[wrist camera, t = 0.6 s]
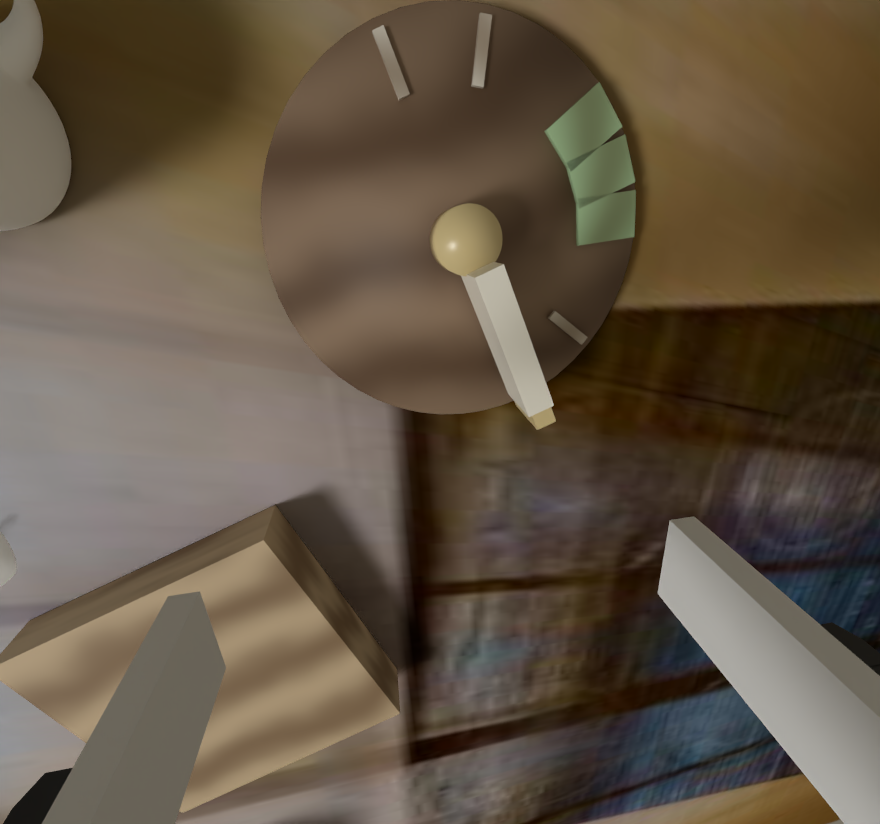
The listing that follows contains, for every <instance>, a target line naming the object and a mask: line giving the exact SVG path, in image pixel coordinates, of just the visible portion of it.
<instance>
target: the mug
mask: <svg viewBox="0 0 880 824" xmlns="http://www.w3.org/2000/svg"><path fill="white" fill-rule="evenodd" d="M42 47H43V28H42V22H41V17H40V14H39V11H38V8H37V6H36V3H35V1H34V0H14V4H13V7H12V10H11V12H10V14H9V16H8V17H7V18H6V19H5V20H4V21H3V22H1V23H0V231H10V230H15V229H20V228H24V227H27V226H30V225H32V224H35V223H37V222H39V221H41V220H43V219H45V218H46V217H47V216H48V215H50V214H51V213H52V212H53V211H54V210H55V209H56V208H57V207H58V205H59V204H60V202H61V201H62V199H63V198H64V196H65V193H66V191H67V188H68V185H69V181H70V176H71V152H70V147H69V142H68V138H67V135H66V132H65V129H64V126H63V124H62V122H61V120H60V118H59V116H58V113H57V112H56V110H55V108H54V107H53V105H52V103H51V101H50V100H49V98H48V97H47V96H46V94H45V93H44V91H43V90H42V89H41V87H40V86H39V85H38V84H37V83H36V81H35V80H34V79H33V78H32V77H33V74H34V72H35V70H36V67H37V65H38V62H39V60H40V56H41V52H42Z"/></svg>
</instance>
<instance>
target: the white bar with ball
mask: <svg viewBox="0 0 880 824" xmlns="http://www.w3.org/2000/svg"><path fill="white" fill-rule="evenodd" d="M502 241H503V238H502V230H501V226H500V224H499V222H498V220H497V218H496V217H495V215H494V214H493V213H492V212H491V211H490V210H488V209H487V208H485V207H483V206H481V205H478V204H473V203H468V204H462V205H458V206H455V207H452V208H449V209H447V210H445V211H444V212H443V213H441V214H440V215H439V216H438V217H437V219H436V220H435V222H434V224H433V226H432V228H431V232H430V240H429V242H430V249H431V252H432V255H433V257H434V258H435V260H436V261H437V262H438V264H439V265H441V266H442V267H443V268H445V269H446V270H448V271H450V272H453V273H455V274H457V275H460V276H461V277H462V280H463V282H464V285H465V287H466V290H467V292H468V295H469V297H470V300H471V302H472V305H473V307H474V310H475V312H476V315H477V317H478V320H479V322H480V325H481V327H482V330H483V332H484V335H485V337H486V340H487V342H488V345H489V347H490V350H491V352H492V355H493V357H494V360H495V362H496V365H497V367H498V370H499V372H500V375H501V377H502V380H503V382H504V385H505V387H506V390H507V392H508V394H509V396H510V397H511V398H512V399H513V400H514V402H515V404H516V406H517V407H518V408H519V409H520V411H521V412H522V413H523V414H524V415H525V416H526V418H527V419H528V420H529V421H530V422H531V423H532V424H533V426H534V427H535V428H536V429H537V430H538V429H540V428H543V427H545V426H547V425H549V424H551V423H553V422H555V421H556V420H555V417H554V414H553V412H552V409H551V407H552V406H554V404H553V401H552V398H551V396H550V393H549V390H548V387H547V384H546V382H545V379H544V376H543V373H542V370H541V367H540V365H539V362H538V359H537V356H536V353H535V351H534V348H533V345H532V342H531V339H530V336H529V334H528V331H527V328H526V325H525V322H524V320H523V317H522V314H521V311H520V308H519V306H518V303H517V300H516V297H515V294H514V291H513V289H512V286H511V283H510V280H509V277H508V275H507V272H506V269H505V266H504V264H501V263H497V262H496V260H497V258H498V256H499V254H500V252H501V248H502Z"/></svg>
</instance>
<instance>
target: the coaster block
mask: <svg viewBox="0 0 880 824" xmlns="http://www.w3.org/2000/svg"><path fill="white" fill-rule="evenodd" d="M199 591H200V593H201V596H202V599H203V602H204V605H205V608H206V610H207V613H208V616H209V619H210V622H211V625H212V628H213V631H214V634H215V637H216V639H217V642H218V645H219V648H220V651H221V654H222V657H223V660H224V663H225V666H226V670H225V673H224V676H223V679H222V682H221V685H220V688H219V691H218V694H217V697H216V700H215V703H214V706H213V709H212V712H211V715H210V718H209V721H208V724H207V727H206V731H205V734H204V737H203V740H202V743H201V746H200V749H199V752H198V755H197V758H196V761H195V764H194V767H193V770H192V773H191V776H190V779H189V782H188V785H187V788H186V791H185V794H184V797H183V800H182V804H181V807H180V810H179V811H180V812H181V813H183V812H186V811H188V810H190V809H192V808H194V807H196V806H199V805H201V804H203V803H205V802H207V801H210V800H212V799H214V798H216V797H218V796H221V795H223V794H225V793H227V792H229V791H231V790H234V789H236V788H238V787H240V786H242V785H245V784H247V783H249V782H251V781H253V780H256V779H258V778H260V777H262V776H264V775H267V774H269V773H271V772H273V771H275V770H277V769H280V768H282V767H284V766H286V765H288V764H291V763H293V762H295V761H297V760H299V759H302V758H304V757H306V756H308V755H310V754H312V753H315V752H317V751H319V750H321V749H323V748H326V747H328V746H330V745H332V744H334V743H337V742H339V741H341V740H343V739H345V738H348V737H350V736H352V735H354V734H356V733H358V732H361V731H363V730H365V729H367V728H369V727H372V726H374V725H376V724H378V723H380V722H383V721H385V720H387V719H389V718H391V717H393V716H396V715H398V714H400V705H399V690H398V676H397V669H396V667H395V666H394V664H393V663H392V662H391V660H390V659H389V658H388V656H387V655H386V654H385V652H384V651H383V650H382V648H381V647H380V646H379V644H378V643H377V642H376V640H375V639H374V637H373V636H372V635H371V633H370V632H369V631H368V629H367V628H366V627H365V625H364V624H363V623H362V621H361V620H360V619H359V617H358V616H357V614H356V613H355V612H354V610H353V609H352V608H351V606H350V605H349V604H348V602H347V601H346V600H345V598H344V597H343V596H342V594H341V593H340V592H339V590H338V589H337V587H336V586H335V585H334V583H333V582H332V581H331V579H330V578H329V577H328V575H327V574H326V573H325V571H324V570H323V569H322V567H321V566H320V564H319V563H318V562H317V560H316V559H315V558H314V556H313V555H312V554H311V552H310V551H309V550H308V548H307V547H306V546H305V544H304V543H303V542H302V540H301V539H300V537H299V536H298V535H297V533H296V532H295V531H294V529H293V528H292V527H291V525H290V524H289V523H288V521H287V520H286V519H285V517H284V516H283V514H282V513H281V512H280V510H279V509H278V508H277V506H276V505H274V506H272V507H270V508H268V509H265V510H263V511H261V512H259V513H257V514H255V515H253V516H251V517H248V518H246V519H244V520H242V521H240V522H238V523H236V524H234V525H231V526H229V527H227V528H225V529H223V530H221V531H219V532H217V533H214V534H212V535H210V536H208V537H206V538H204V539H202V540H200V541H197V542H195V543H193V544H191V545H189V546H187V547H185V548H183V549H181V550H178V551H176V552H174V553H172V554H170V555H168V556H166V557H164V558H161V559H159V560H157V561H155V562H153V563H151V564H149V565H147V566H144V567H142V568H140V569H138V570H136V571H134V572H132V573H130V574H127V575H125V576H123V577H121V578H119V579H117V580H115V581H113V582H110V583H108V584H106V585H104V586H102V587H100V588H98V589H96V590H93V591H91V592H89V593H87V594H85V595H83V596H81V597H79V598H76V599H74V600H72V601H70V602H68V603H66V604H64V605H62V606H59V607H57V608H55V609H53V610H51V611H49V612H47V613H45V614H43V615H40V616H38V617H36V618H34V619H32V620H30V621H29V622H28V623H27V624H26V625H25V626H24V628H23V629H22V630H21V631H20V632H19V633H18V634H17V636H16V637H15V638H14V639H13V640H12V641H11V643H10V644H9V645H8V646H7V647H6V648H5V649H4V651H3V652H2V653H1V654H0V681H2V682H3V683H4V684H6V685H7V686H8V687H10V688H11V689H13V690H14V691H15V692H17V693H18V694H19V695H21V696H22V697H24V698H25V699H26V700H28V701H29V702H30V703H32V704H33V705H34V706H36V707H37V708H39V709H40V710H41V711H43V712H44V713H45V714H47V715H48V716H50V717H51V718H52V719H54V720H55V721H56V722H58V723H59V724H61V725H62V726H63V727H65V728H66V729H67V730H69V731H70V732H72V733H73V734H74V735H76V736H77V737H78V738H80V739H81V740H83V741H84V742H85V743H87V741H88V740H89V738H90V736H91V734H92V732H93V731H94V729H95V727H96V725H97V723H98V722H99V720H100V718H101V716H102V714H103V713H104V711H105V709H106V707H107V705H108V704H109V702H110V700H111V698H112V696H113V695H114V693H115V691H116V689H117V687H118V686H119V684H120V682H121V680H122V678H123V677H124V675H125V673H126V671H127V669H128V668H129V666H130V664H131V662H132V660H133V659H134V657H135V655H136V653H137V651H138V650H139V648H140V646H141V644H142V642H143V641H144V639H145V637H146V635H147V633H148V632H149V630H150V628H151V626H152V624H153V623H154V621H155V619H156V617H157V615H158V614H159V612H160V610H161V608H162V606H163V605H164V603H165V601H166V599H167V597H168V596H173V595H179V594H186V593H192V592H199Z"/></svg>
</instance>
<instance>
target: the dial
mask: <svg viewBox="0 0 880 824" xmlns="http://www.w3.org/2000/svg"><path fill="white" fill-rule="evenodd" d="M468 203H473V204H478V205H481V206H483V207H485V208H487V209H488V210H490V211H491V212H492V213H493V214H494V215H495V217H496V218H497V220H498V222H499V224H500V226H501V230H502V238H503V241H502V248H501V252H500V254H499V256H498V258H497V260H496V262H497V263H501V264H504V266H505V269H506V272H507V275H508V277H509V280H510V283H511V286H512V289H513V291H514V294H515V297H516V300H517V303H518V306H519V308H520V311H521V314H522V317H523V320H524V322H525V325H526V328H527V331H528V334H529V336H530V339H531V342H532V345H533V348H534V351H535V353H536V356H537V359H538V362H539V365H540V367H541V370H542V373H543V376H544V379H545V382H548V381H549V380H550V379H552V378H553V377H555V376H556V375H557V374H559V373H560V372H561V371H562V370H563V369H564V368H565V367H566V366H568V365H569V364H570V363H571V362H572V361H573V360H574V359H575V358H576V357H577V356H578V354H579V353H580V352H581V351H582V350H583V349H584V348H585V347H586V346H587V345H588V343H589V342H590V340H591V339H592V338H593V336H594V335H595V333H596V332H597V331H598V329H599V328H600V326H601V325H602V323H603V321H604V320H605V318H606V316H607V314H608V313H609V311H610V309H611V307H612V305H613V303H614V301H615V299H616V296H617V294H618V292H619V289H620V287H621V285H622V282H623V278H624V275H625V272H626V269H627V265H628V262H629V258H630V253H631V247H632V242H633V237H634V235H635V213H636V190H635V178H634V173H633V168H632V163H631V157H630V153H629V149H628V145H627V140H626V135H625V134H624V132H623V129H622V125H621V123H620V121H619V119H618V117H617V115H616V113H615V110H614V108H613V106H612V104H611V102H610V101H609V99H608V97H607V95H606V94H605V92H604V90H603V88H602V86H601V84H600V82H598V81H597V79H596V78H595V77H594V75H593V74H592V73H591V72H590V70H589V69H588V68H587V66H586V65H585V64H584V63H583V61H582V60H581V59H580V58H579V57H578V56H577V55H576V54H575V53H574V52H572V51H571V50H570V49H569V48H568V47H567V46H566V45H565V44H564V43H563V42H562V41H561V40H559V39H558V38H557V37H555V36H554V35H552V34H551V33H550V32H548V31H547V30H545V29H544V28H543V27H541V26H540V25H538V24H536V23H534V22H532V21H530V20H528V19H526V18H524V17H522V16H520V15H518V14H516V13H514V12H511V11H508V10H504V9H501V8H498V7H495V6H491V5H488V4H483V3H475V2H468V1H460V0H450V1H428V2H423V3H419V4H414V5H409V6H404V7H400V8H397V9H395V10H392V11H390V12H387V13H385V14H382V15H380V16H377V17H375V18H372V19H371V20H369V21H367V22H366V23H364V24H362V25H361V26H359V27H357V28H356V29H354V30H352V31H351V32H349V33H347V34H346V35H345V36H344V37H343V38H341V39H340V40H339V41H338V42H337V43H336V44H334V45H333V46H332V47H331V48H330V49H328V50H327V51H326V52H325V53H324V54H323V55H322V56H321V57H320V58H319V60H318V61H317V62H316V63H315V64H314V65H313V66H312V68H311V69H310V70H309V71H308V72H307V73H306V75H305V76H304V77H303V79H302V80H301V82H300V83H299V85H298V86H297V88H296V90H295V91H294V93H293V94H292V96H291V97H290V99H289V101H288V102H287V104H286V107H285V109H284V111H283V113H282V115H281V118H280V120H279V122H278V124H277V126H276V129H275V131H274V135H273V138H272V141H271V145H270V148H269V151H268V155H267V158H266V164H265V171H264V177H263V183H262V196H261V223H262V233H263V244H264V249H265V254H266V258H267V262H268V267H269V271H270V274H271V277H272V280H273V283H274V286H275V288H276V291H277V294H278V297H279V299H280V301H281V303H282V305H283V307H284V309H285V311H286V313H287V315H288V317H289V319H290V321H291V322H292V324H293V325H294V327H295V328H296V330H297V331H298V333H299V334H300V336H301V337H302V339H303V340H304V342H305V343H306V344H307V345H308V346H309V347H310V349H311V350H312V351H313V352H314V353H315V354H316V355H317V357H318V358H319V359H320V360H321V361H322V362H323V363H324V364H325V365H326V366H328V367H329V368H330V369H331V370H332V371H333V372H334V373H335V374H337V375H338V376H339V377H340V378H342V379H343V380H345V381H346V382H348V383H349V384H350V385H352V386H353V387H355V388H356V389H358V390H360V391H362V392H364V393H365V394H367V395H369V396H371V397H373V398H375V399H377V400H380V401H382V402H385V403H388V404H390V405H393V406H396V407H399V408H403V409H408V410H412V411H416V412H423V413H433V414H462V413H469V412H476V411H482V410H486V409H490V408H493V407H497V406H501V405H503V404H506V403H508V402H511V401H513V399H512V398H511V397H510V396H509V394H508V392H507V390H506V387H505V385H504V382H503V380H502V377H501V375H500V372H499V370H498V367H497V365H496V362H495V360H494V357H493V355H492V352H491V350H490V347H489V345H488V342H487V340H486V337H485V335H484V332H483V330H482V327H481V325H480V322H479V320H478V317H477V315H476V312H475V310H474V307H473V305H472V302H471V300H470V297H469V295H468V292H467V290H466V287H465V285H464V282H463V280H462V277H461V276H460V275H457V274H455V273H453V272H450V271H448V270H446V269H445V268H443V267H442V266H441V265H439V264H438V262H437V261H436V260H435V258H434V257H433V255H432V252H431V249H430V242H429V240H430V232H431V228H432V226H433V224H434V222H435V220H436V219H437V217H438V216H439V215H440V214H441V213H443V212H444V211H445V210H447V209H449V208H452V207H455V206H458V205H462V204H468Z"/></svg>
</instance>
